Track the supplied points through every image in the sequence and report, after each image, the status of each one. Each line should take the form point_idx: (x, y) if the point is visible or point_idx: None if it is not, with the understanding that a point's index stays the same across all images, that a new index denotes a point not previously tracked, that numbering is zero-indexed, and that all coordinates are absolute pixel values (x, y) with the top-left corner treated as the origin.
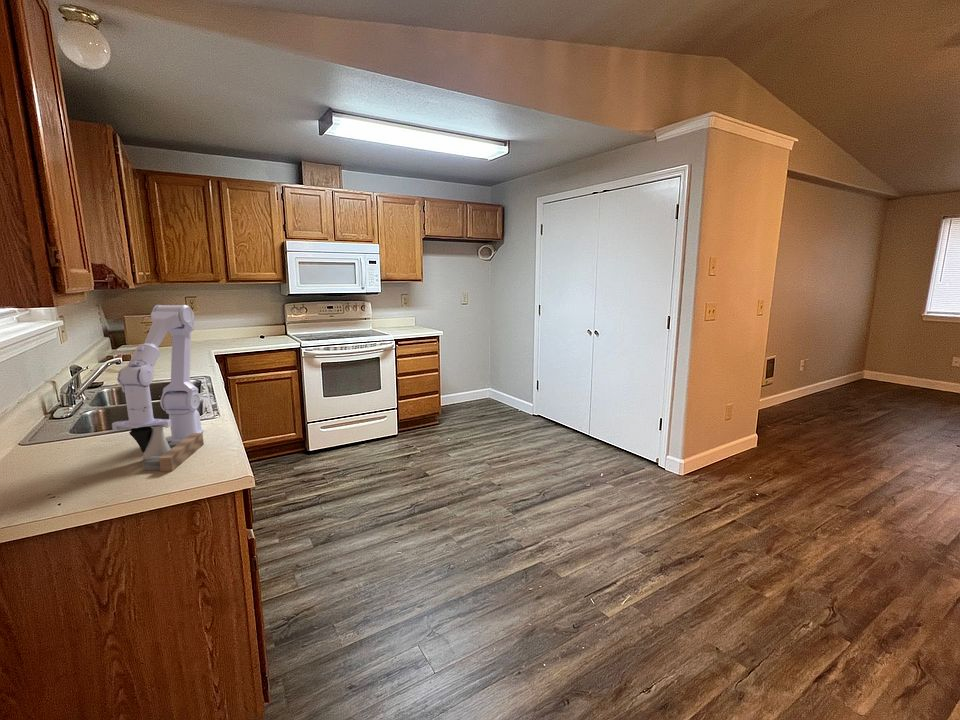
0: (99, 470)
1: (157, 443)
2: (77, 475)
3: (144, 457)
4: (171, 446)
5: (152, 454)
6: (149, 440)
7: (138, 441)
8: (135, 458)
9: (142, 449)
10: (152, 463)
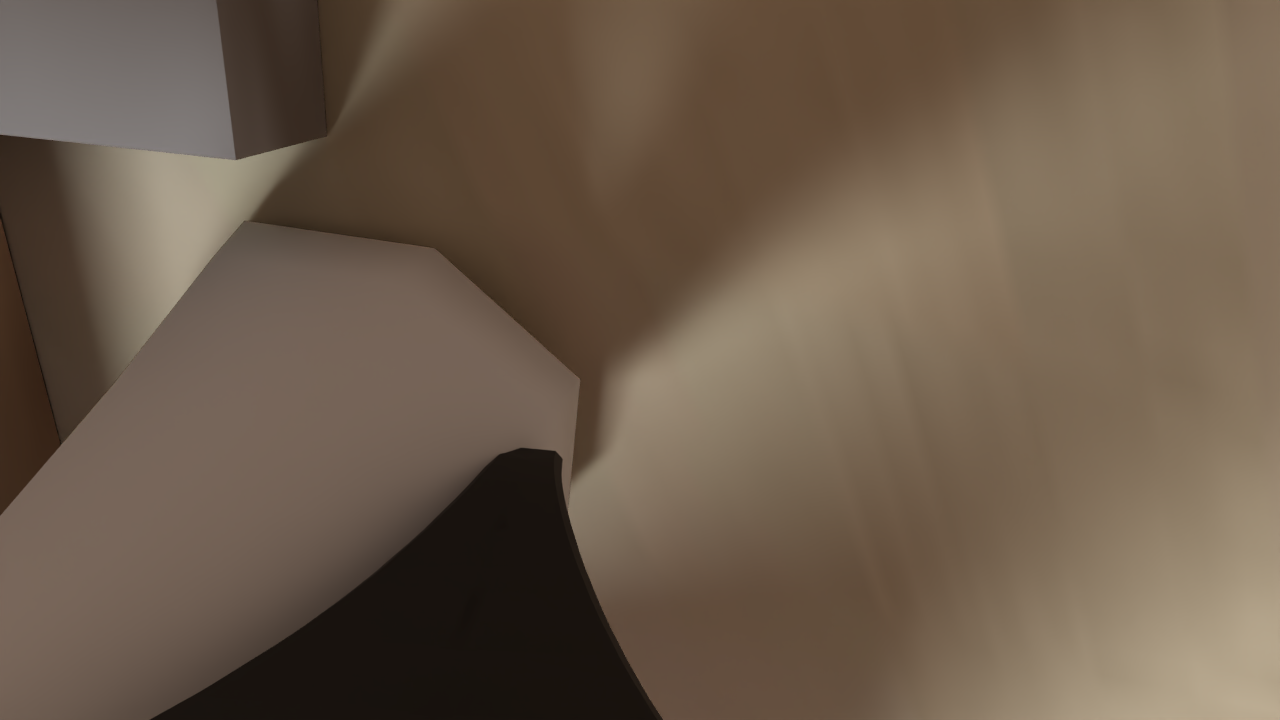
0: (1179, 90)
1: (23, 508)
2: None
3: (508, 347)
4: None
5: (291, 311)
6: None
7: (546, 623)
8: (743, 498)
9: (523, 474)
10: None
